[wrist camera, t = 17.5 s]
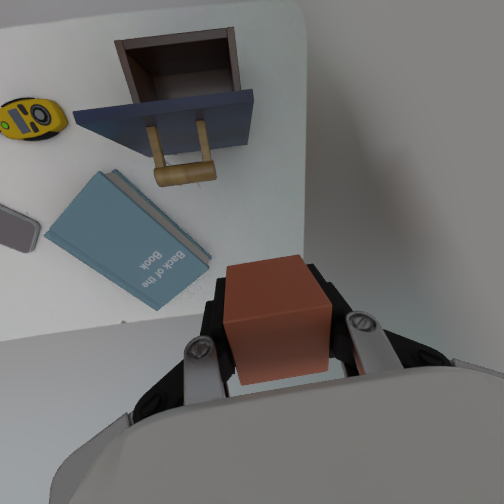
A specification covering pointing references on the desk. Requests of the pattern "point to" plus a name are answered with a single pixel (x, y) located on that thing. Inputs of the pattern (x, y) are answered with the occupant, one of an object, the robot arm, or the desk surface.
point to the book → (129, 240)
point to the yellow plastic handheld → (31, 119)
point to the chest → (180, 64)
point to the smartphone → (17, 231)
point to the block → (276, 320)
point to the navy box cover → (176, 130)
